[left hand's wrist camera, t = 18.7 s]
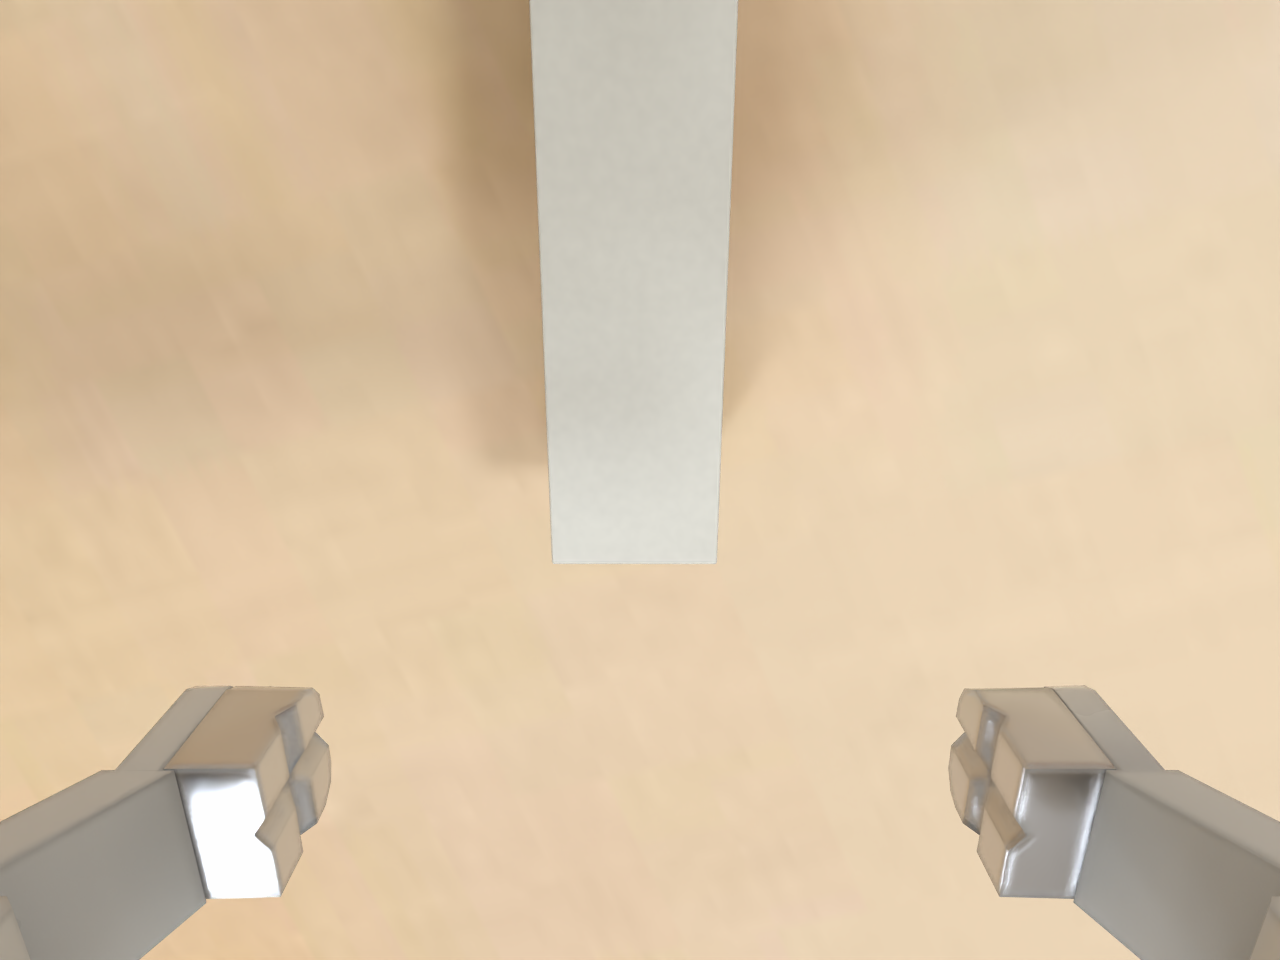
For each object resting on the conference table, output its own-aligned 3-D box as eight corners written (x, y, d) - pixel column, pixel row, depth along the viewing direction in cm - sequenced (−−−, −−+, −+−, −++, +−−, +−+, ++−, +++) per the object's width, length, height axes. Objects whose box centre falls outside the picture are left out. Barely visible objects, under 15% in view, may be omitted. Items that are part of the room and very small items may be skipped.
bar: (698, 467, 33) (716, 564, 25) (573, 467, 33) (551, 564, 25) (717, -237, 25) (755, -431, 17) (553, -237, 25) (511, -431, 17)
